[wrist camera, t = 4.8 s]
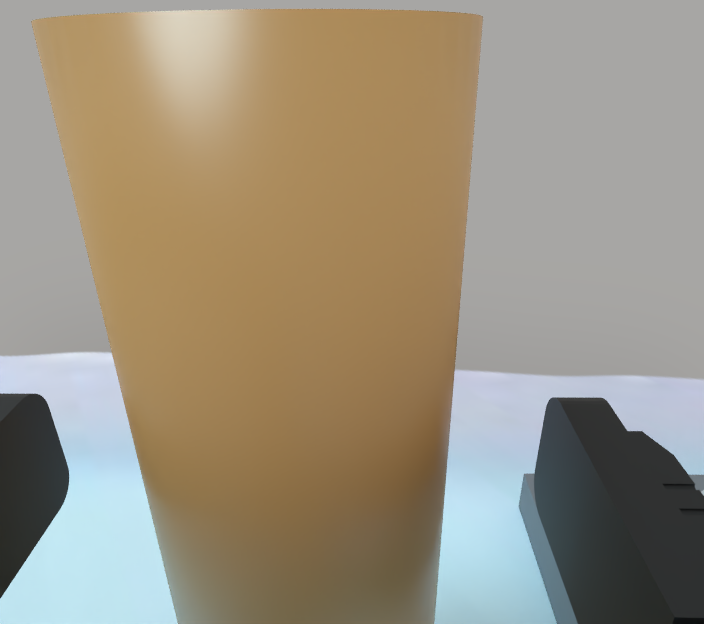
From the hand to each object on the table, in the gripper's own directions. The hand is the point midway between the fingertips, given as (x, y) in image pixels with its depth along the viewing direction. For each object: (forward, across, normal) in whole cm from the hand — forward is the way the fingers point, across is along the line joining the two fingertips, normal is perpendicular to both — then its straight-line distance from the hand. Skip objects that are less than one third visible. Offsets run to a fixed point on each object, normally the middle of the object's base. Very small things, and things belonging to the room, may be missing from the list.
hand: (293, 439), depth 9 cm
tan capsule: (0, 0, +9) cm, 9 cm away
